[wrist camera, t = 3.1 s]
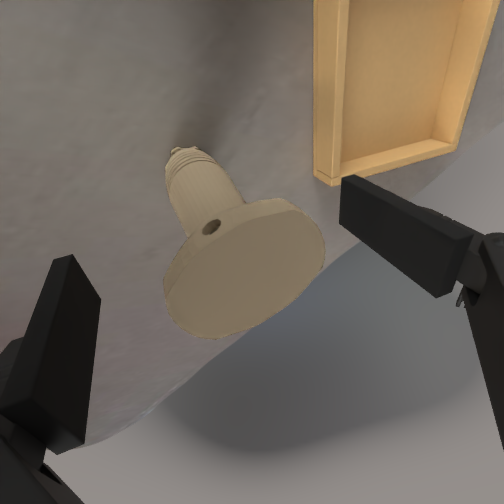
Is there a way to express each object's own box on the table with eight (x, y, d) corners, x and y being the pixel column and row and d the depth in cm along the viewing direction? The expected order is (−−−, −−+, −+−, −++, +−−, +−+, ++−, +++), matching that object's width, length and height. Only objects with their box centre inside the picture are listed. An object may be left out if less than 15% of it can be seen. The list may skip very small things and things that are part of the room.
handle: (234, 166, 24) (338, 271, 12) (171, 210, 24) (215, 354, 12) (202, 112, 21) (299, 182, 9) (130, 162, 21) (136, 294, 9)
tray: (313, -89, 17) (343, -113, 15) (487, -101, 20) (537, -123, 17) (313, 175, 27) (331, 187, 25) (429, 143, 30) (455, 150, 27)
